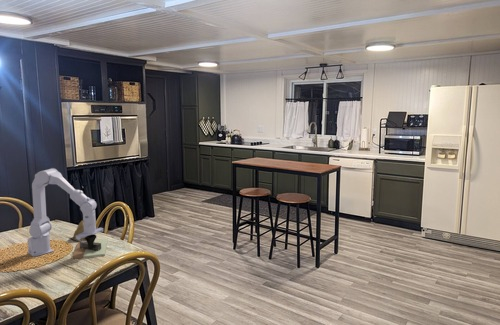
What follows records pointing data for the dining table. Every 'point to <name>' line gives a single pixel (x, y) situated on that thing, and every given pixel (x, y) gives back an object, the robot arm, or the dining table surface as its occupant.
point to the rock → (79, 230)
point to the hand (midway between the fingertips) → (90, 248)
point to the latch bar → (95, 246)
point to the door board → (88, 253)
